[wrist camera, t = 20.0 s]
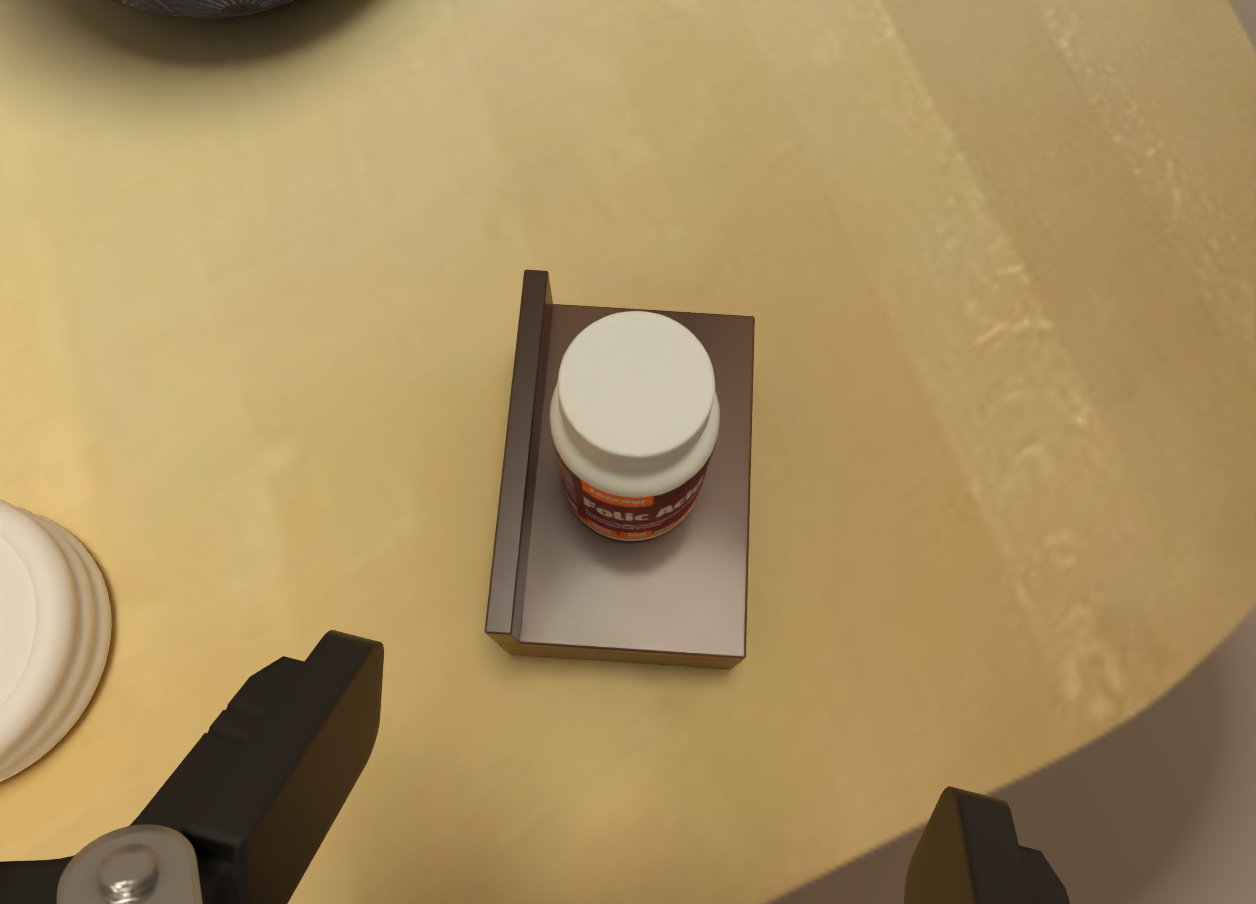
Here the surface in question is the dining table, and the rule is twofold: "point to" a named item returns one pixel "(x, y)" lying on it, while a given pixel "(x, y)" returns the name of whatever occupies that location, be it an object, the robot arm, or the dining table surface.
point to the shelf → (608, 568)
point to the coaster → (46, 635)
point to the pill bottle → (634, 424)
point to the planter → (204, 7)
